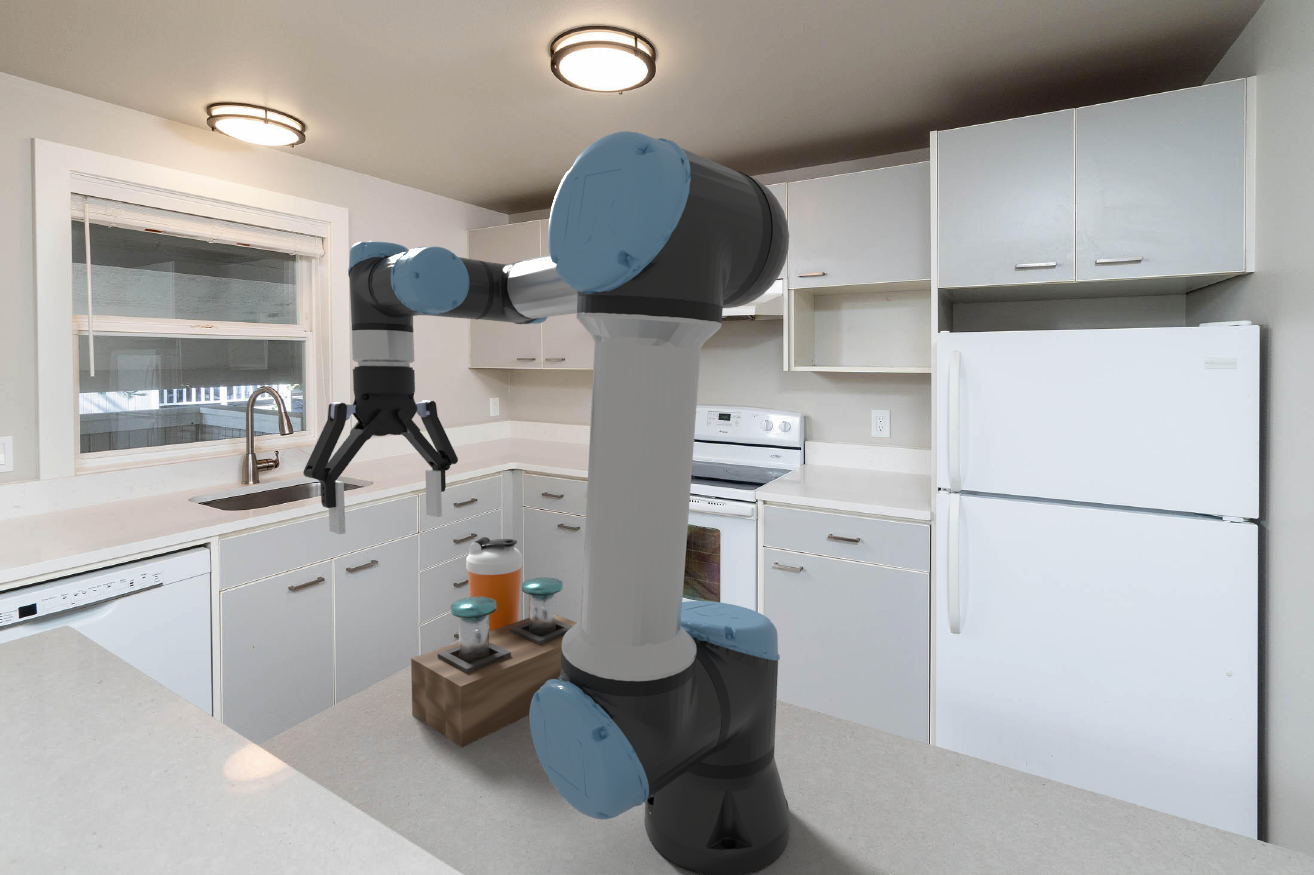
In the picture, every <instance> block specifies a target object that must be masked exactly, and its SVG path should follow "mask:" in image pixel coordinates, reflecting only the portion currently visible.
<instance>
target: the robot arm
mask: <svg viewBox="0 0 1314 875" xmlns="http://www.w3.org/2000/svg"><path fill="white" fill-rule="evenodd" d="M557 188H558V189H557V191H556V193H555V195H554V199H553V202H552V205H551V209H550V214H549V219H548V220H549V221H548V228H547V230H548V231H547V240H548V243H547V244H548V251H549V253H548V254H544V255H541V256H536V257H532V258H528V259H524V260H520V261H519V260H518V261H515V262H511V263H497V262H491V261H483V260H478V259H471V258H468V257H467V258H466V257H459V256H457V255H456V254H455V253H454V252H452V251H451V250H450V249H447V248H444V247H442V246H418V247H416V248H411V249H409V248H408V247H406V246H404V245H401V244H399V243H395V242H387V241H378V240H377V241H375V240H374V241H373V240H372V241H371V240H369V241H359V242H357V243H354V244H353V245H352V246H351V247H350V250H349V261H348V263H349V266H348V270H347V272H348V273H347V275H348V278H349V293H350V294H349V297H350V317H351V318H350V319H351V321H350V322H351V350H352V352H351V353H352V354H351V355H352V361H353V362H355V363H357V366H354V368H353V369H352V380H353V381H352V383H353V384H352V386H353V390H352V391H353V394H354V401H353V402H352V403H353V404H348V403H347V404H346V403H345V402H337V401H335V402H330V403H329V404H328V410H327V420H326V422H325V423H324V424H325V425H324V427H323V429H322V431H321V433H320V435H319V437H318V439H317V441H316V444H315V445H314V447H313V450H312V452H311V454H310V456H309V459H308V461H307V463H306V465H305V467H304V470H303V476H304V477H305V478H310V479H314V480H317V481H319V483H320V497H321V498H320V501H321V502H320V503H321V505H322V507H324V508H327V509H328V519H329V520H328V521H329V524H328V525H329V532H331V533H334V534H337V535H343V534H346V512H345V511H346V510H345V482H344V481H341V480H340V481H339V480H338V479H339V477H340V476H342V474H343V473H344V471H345V469H346V468H347V467H348V465H350V463H351V461H352V460H353V459H354V457H355V456H356V455H357V453H358V452H359V451H360V450H361V448H362V447H363V446H364V445H365V443H366V442H367V441H369V440H370V439H371V438H372V437H373V436H374V437H375V436H376V437H386V436H387V435H388V436H389V435H393V436H403V437H404V438H405V439H406V440H407V441H408V442H409V443H410V444H411V446H412V447H413V448H414V450H416V451H417V453H418V454H419V455H420V456H421V457H422V459H423V460H424V461H426V462H425V463H427V464H428V466H430V468H431V469H425V500H426V501H425V504H426V507H425V508H426V511H425V512H426V515H427V516H432V517H434V518H440V517H443V513H442V510H443V509H442V492H443V493H444V492H445V491H446V488H447V486H446V484H447V483H446V478H447V477H446V471H449V470H450V468H451V465H456V464H458V461H459V458H458V456H457V454H456V452H455V449H454V448H453V446H452V443H451V441H450V439H449V437H448V435H447V433H446V430H445V429H444V426H443V424H442V421H440V418H439V416H438V408H437V403H436V401H434V400H420V401H419V402H416V401H415V397H414V396H415V393H416V382H415V381H416V380H415V375H416V374H415V369H413V368H414V367H413V366H412V367H411V366H410V364H411V363H414V362H415V342H414V341H415V340H414V317H415V316H416V317H417V316H430V317H440V318H442V317H444V318H453V319H454V318H455V319H466V320H467V319H468V320H482V321H493V322H503V323H512V324H515V325H531V324H533V325H537V324H541V323H543V322H544V323H545V321H546V320H547V319H548V318H549V317H557V316H565V315H566V316H567V315H573V314H576V319H577V321H578V322H579V323H580V324H581V325H582V327H584V329H585V330H586V331H587V332H588V333H589V334H590V336H591V338H592V339H593V341H594V347H593V348H594V349H593V364H592V365H593V367H592V368H593V369H592V387H591V407H590V408H591V410H590V431H589V447H588V448H589V449H588V450H589V451H588V468H587V484H586V485H587V488H586V489H587V492H586V508H585V509H586V510H585V526H584V527H585V530H584V549H583V550H584V551H583V569H582V588H581V589H582V590H581V592H582V593H581V609H580V620H579V621H578V622H577V624H575V625H574V626H573V627H572V628H570V629H569V630H568V631H567V632H566V634H565V635H564V637H563V639H562V648H561V669H560V676H559V677H558V679H550V680H548V681H546V683H545V684H544V685H543V686H542V687H540V690H538V691H537V692H536V693H535V694H534V696H533V698H532V701H531V705H530V713H529V715H528V716H529V728H530V735H531V740H532V742H533V747H534V749H535V753H536V756H537V758H538V760H539V762H540V764H541V767H543V769H544V771H545V774H546V776H547V778H548V779H549V781H550V783H551V784H552V786H554V788H555V790H556V791H557V793H558V794H559V795H560V796H561V797H562V798H563V799H564V800H565V802H567V803H568V804H569V805H571V807H573V808H574V809H575V810H577V811H578V812H579V813H581V814H582V815H585V816H586V817H589V818H594V819H596V820H609V819H613V818H614V819H615V818H616V817H618V816H620V815H622V814H623V813H626V812H627V811H629V810H631V809H633V808H635V807H639V806H642V805H643V804H644V828H645V831H646V835H647V837H648V838H649V841H650V842H651V844H652V845H653V846H654V848H656V850H657V851H658V852H659V853H660V854H661V855H662V856H664V857H665V858H666V859H668V860H669V861H670V862H671V863H673V864H675V865H677V866H679V867H681V868H683V869H686V870H689V871H691V872H694V873H698V874H701V875H702V874H703V875H747V874H751V873H753V872H757V871H759V870H762V869H764V868H766V867H768V866H769V865H771V864H773V862H775V861H776V860H777V859H778V858H779V857H780V856H781V854H783V852H784V850H785V849H786V848H787V843H788V841H789V835H790V808H789V804H788V800H787V798H786V795H785V792H784V791H785V790H784V787H783V784H782V781H781V777H780V774H779V773H780V772H779V769H778V766H777V763H776V760H775V749H776V748H775V746H776V745H775V744H776V720H777V697H778V694H777V692H778V676H779V675H778V673H779V672H778V670H779V660H780V657H781V656H780V654H779V642H778V639H779V638H778V635H779V634H778V630H777V627H776V626H775V624H774V623H773V622H772V621H771V619H769V618H768V617H767V616H765V615H764V614H762V613H760V612H759V611H756V610H753V609H752V608H747V607H744V606H742V605H736V604H731V603H727V602H726V603H725V602H720V601H719V602H718V601H708V600H687V601H683V600H684V599H683V598H684V597H683V596H684V585H685V584H684V582H685V568H686V556H687V555H686V554H687V545H688V544H687V540H688V528H689V527H688V526H689V515H690V500H691V486H692V473H693V472H692V471H693V461H694V460H693V459H694V457H693V456H694V446H695V445H694V444H695V434H696V433H695V432H696V416H697V404H698V403H697V402H698V390H699V376H700V374H699V373H700V361H701V349H702V347H703V346H704V344H705V343H706V342H707V341H708V340H709V339H711V337H713V335H714V334H715V333H717V332H718V331H719V330H721V329H722V321H723V309H731V308H732V309H733V308H739V307H741V306H745V305H747V304H750V303H751V302H754V301H756V300H757V299H758V298H760V297H761V296H763V295H764V294H766V292H767V291H768V290H769V289H770V288H772V286H773V285H774V283H775V282H776V280H777V279H778V278H779V276H780V275H781V274H782V273H781V272H782V270H783V268H784V266H785V264H786V262H787V256H788V252H789V248H790V247H789V246H790V244H789V243H790V232H789V224H788V221H787V217H786V213H785V211H784V209H783V207H782V205H781V204H780V202H779V200H778V198H777V197H776V196H775V195H774V193H773V192H772V190H770V188H768V187H767V186H766V185H765V184H764V183H762V182H761V181H760V180H758V179H757V178H755V177H753V176H750V175H748V174H746V173H744V172H742V171H737V170H735V169H733V168H732V169H731V167H730V168H729V167H727V166H725V165H722V164H720V163H718V162H716V161H713V160H711V159H709V158H705V157H703V156H701V155H699V154H696V153H695V152H692V151H690V150H688V149H685V148H682V147H681V146H679V145H678V143H677V142H675V141H673V140H671V139H669V140H668V139H666V138H655V137H652V136H649V135H646V134H643V133H640V132H637V131H627V130H625V131H617V132H613V133H610V134H606V135H604V136H602V137H600V138H599V139H596V140H595V141H594V142H592V143H591V144H589V145H588V146H587V147H586V148H585V149H584V150H583V151H582V152H581V153H579V155H578V156H577V157H576V158H575V160H574V163H573V164H572V166H571V168H570V169H569V170H567V171H566V172H565V174H564V176H563V178H562V179H561V181H560V184H559V186H558V187H557ZM416 414H417V415H418V416H419V417H420V419H421V421H422V423H423V425H424V427H425V430H426V432H427V433H428V436H429V438H430V439H431V440H430V441H431V442H432V444H433V445H432V444H431V443H430V441H429V440H428V439H427V438H426V437H425V436H424V435H423V433H422V432H421V429H420V428H419V427H418V425H417V424H416V423H415V422H414V420H413V418H414V417H415V416H416ZM351 415H353V417H354V418H355V419H356V421H357V422H356V423H355V424H354V425H353V427H352V429H351V430H350V431H349V435H348V436H347V437H346V439H345V440H344V441H343V443H342V444H340V446H339V448H338V449H337V450H336V451H335V452H334V450H335V448H336V445H337V443H338V441H339V439H340V437H341V435H342V433H343V430H344V428H345V425H346V421H348V420H349V419H350V418H351ZM333 452H334V454H333ZM332 454H333V455H332Z"/></svg>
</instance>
